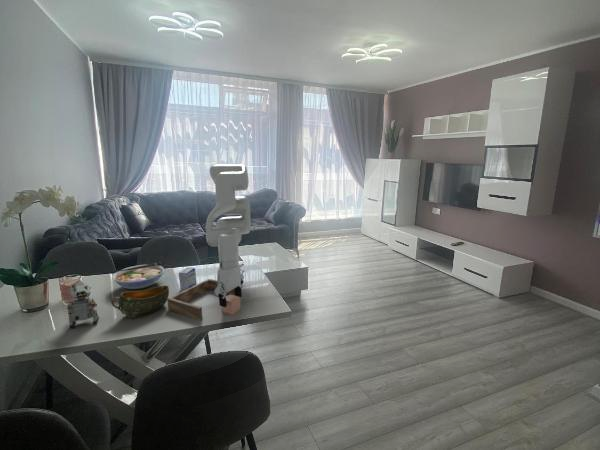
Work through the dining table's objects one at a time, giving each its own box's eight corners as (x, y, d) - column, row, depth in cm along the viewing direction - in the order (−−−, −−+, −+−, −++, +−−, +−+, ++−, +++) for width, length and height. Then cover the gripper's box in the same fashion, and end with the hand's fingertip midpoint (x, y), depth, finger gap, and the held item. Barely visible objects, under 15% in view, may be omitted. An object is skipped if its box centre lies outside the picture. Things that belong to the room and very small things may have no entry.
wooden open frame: (209, 288, 155) (208, 278, 154) (239, 295, 147) (238, 285, 146) (168, 309, 134) (167, 298, 133) (200, 320, 126) (199, 308, 125)
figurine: (101, 312, 132) (96, 278, 128) (96, 326, 121) (90, 290, 118) (75, 317, 128) (69, 282, 125) (67, 331, 118) (60, 294, 115)
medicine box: (188, 290, 153) (186, 273, 151) (179, 289, 154) (178, 272, 152) (196, 283, 161) (195, 267, 159) (188, 282, 162) (187, 266, 160)
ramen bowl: (111, 301, 142) (109, 284, 140) (111, 283, 161) (109, 268, 159) (171, 289, 154) (169, 273, 152) (164, 274, 173) (162, 259, 171)
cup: (120, 307, 136) (117, 285, 134) (170, 301, 142) (168, 280, 139) (112, 323, 124) (109, 299, 122) (168, 316, 130) (166, 293, 127)
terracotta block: (230, 306, 138) (229, 294, 136) (240, 308, 135) (240, 296, 134) (221, 311, 133) (221, 299, 132) (232, 314, 130) (231, 302, 129)
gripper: (235, 255, 138) (237, 291, 143) (206, 268, 124) (209, 308, 128) (249, 257, 135) (250, 294, 139) (221, 271, 120) (224, 312, 124)
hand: (230, 301), depth 133 cm, fingers open, 9 cm apart
